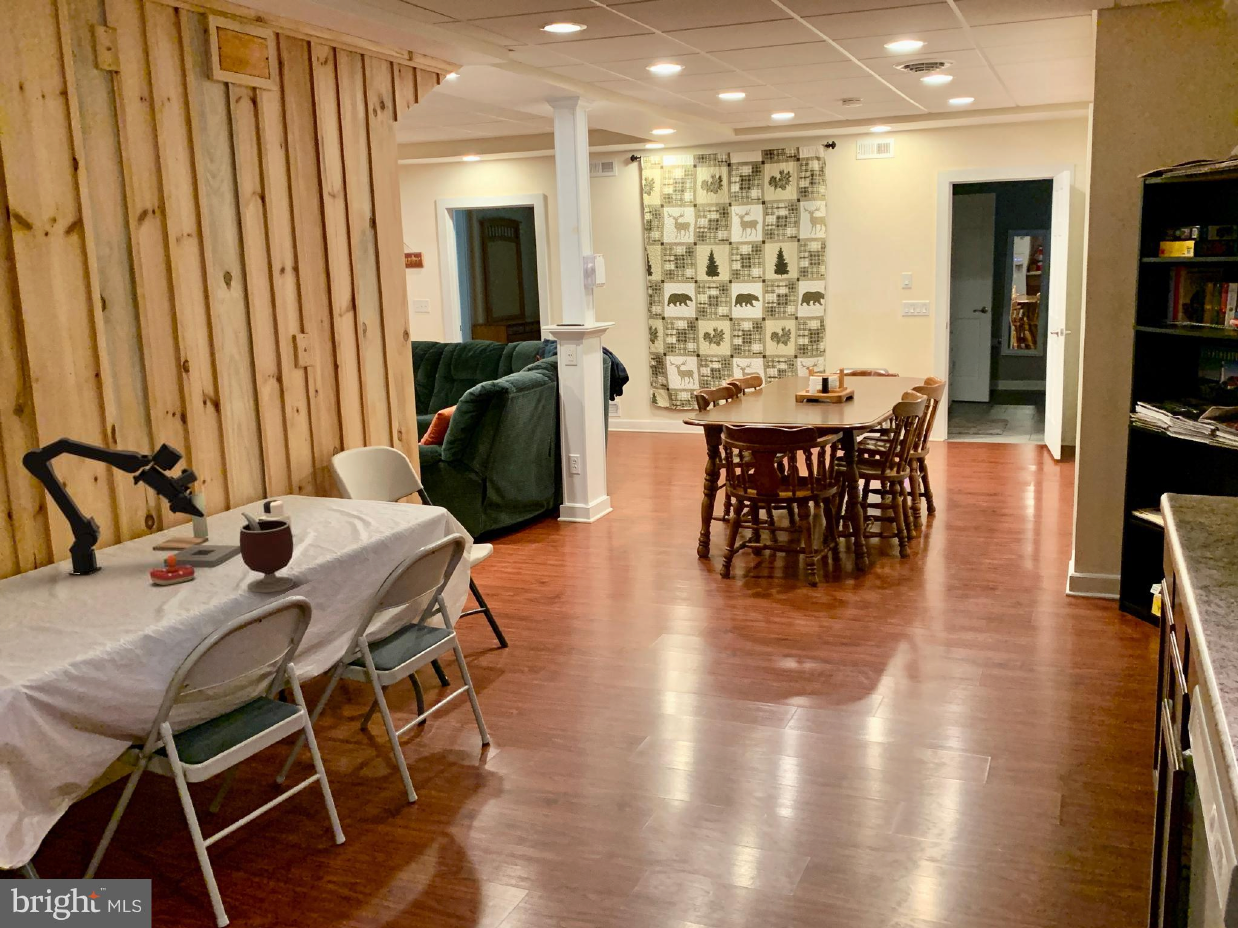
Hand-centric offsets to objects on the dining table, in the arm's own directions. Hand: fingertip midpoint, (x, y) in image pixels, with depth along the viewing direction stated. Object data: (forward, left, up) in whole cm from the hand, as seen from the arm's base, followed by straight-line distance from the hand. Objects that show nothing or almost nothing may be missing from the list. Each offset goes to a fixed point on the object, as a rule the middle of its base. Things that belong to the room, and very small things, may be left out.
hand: (203, 514), depth 323 cm
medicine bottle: (+24, -10, -14) cm, 29 cm away
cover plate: (-1, +1, -13) cm, 14 cm away
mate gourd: (-24, -32, -14) cm, 43 cm away
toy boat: (-23, -2, -14) cm, 27 cm away
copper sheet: (+13, +17, -13) cm, 25 cm away
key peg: (-1, +1, -7) cm, 7 cm away
